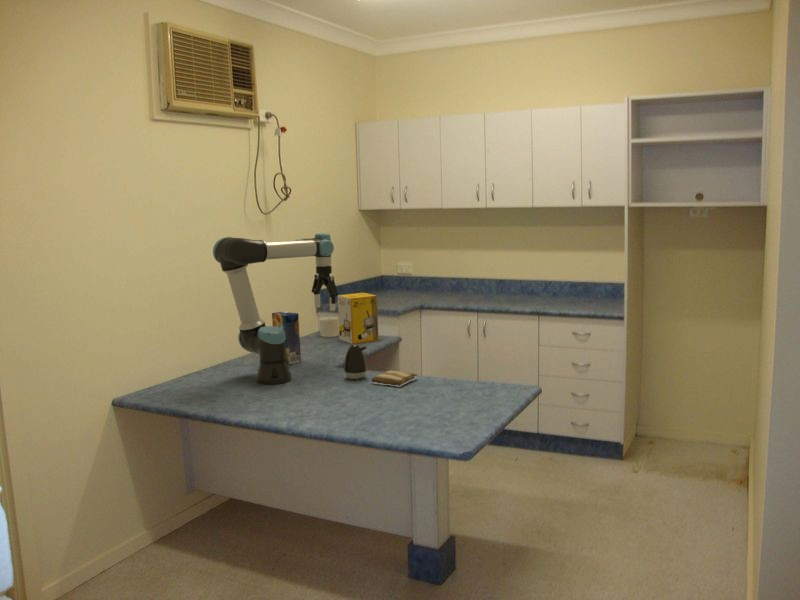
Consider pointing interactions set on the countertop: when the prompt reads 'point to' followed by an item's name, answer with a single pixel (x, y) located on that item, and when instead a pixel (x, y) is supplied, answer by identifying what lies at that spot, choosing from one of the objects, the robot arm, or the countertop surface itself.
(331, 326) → the toilet tissue
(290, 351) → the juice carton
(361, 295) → the packaging box
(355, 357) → the pump dispenser
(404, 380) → the stand
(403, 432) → the countertop surface
